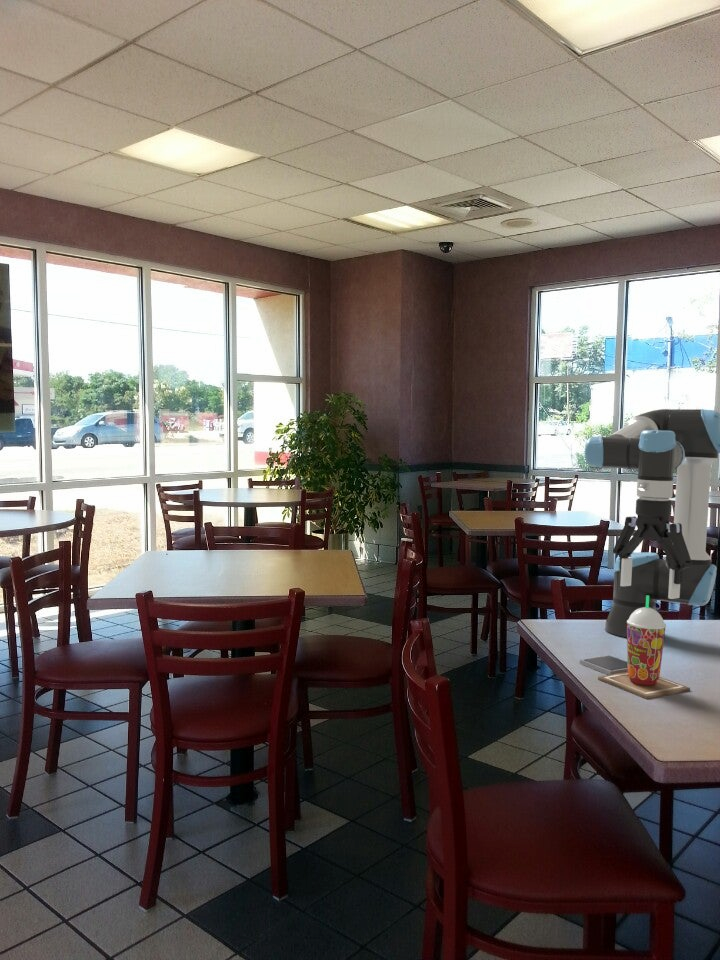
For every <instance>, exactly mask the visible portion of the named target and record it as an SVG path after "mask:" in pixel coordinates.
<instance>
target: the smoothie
mask: <svg viewBox="0 0 720 960" xmlns="http://www.w3.org/2000/svg"><path fill="white" fill-rule="evenodd" d="M666 627H667V624H666V623H665V621H664V619H663V617H662V615H661V614H660V612H658V611H657V610H654V609H652V608H649V596H648V595H646V607H642V608H639V609H637V610H635V611H634V612H633V613H632V614H631V615H630V617H629V619H628V620H627V637H626V640H627V641H626V646H627V647H626V648H627V650H626V651H627V654H626V655H627V657H626V658H627V667H628V676H629V677H630V681H631V682H633V683H635V684H638V685H643V686H652V685H655V684H656V683H657V680H659V677H661V676H660V674H661V667H662V658H663V650H664V643H665V636H666V635H665V633H666Z"/></svg>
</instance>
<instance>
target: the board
mask: <svg viewBox="0 0 720 960" xmlns="http://www.w3.org/2000/svg"><path fill="white" fill-rule="evenodd" d="M597 680H598V681H600V682H603V683H606V684H608V685H610V686H612V687H613V686H614V687H616V688H618V689H620V690H623V691H626V692H628V693H630V694H633V695H635V696H638V697H641V698H643V699H646V700H647V699H652V698H654V699H655V698H658V697H663V696H669V695H673V694H677V693H679V694H680V693H684V692H688V691H691V687H689V686H686V685H684V684H681V683H678V682H676V681H673V680H670V679H668V678H665V677H662V676H659V680H657V683H656V684H655V685H652V686H643V685H638V684H635V683H633V682H631V681H630V677H629V676H628V672H625V673H619V674H613V675H608V674H606V675H603V676H598V677H597Z"/></svg>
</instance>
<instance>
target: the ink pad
mask: <svg viewBox="0 0 720 960" xmlns="http://www.w3.org/2000/svg"><path fill="white" fill-rule="evenodd" d="M579 664H580V665H582V666H584V667H587V668H590V669H591V670H592V669H593V670H595V671H598V672H600V673H602V674H605V675H613V674H619V673H625V672H628V667H627V661H625V660H623V659H621V658H619V657H618V658H617V657H615V656H613V655H608V654H607V655H602V656H596V657H589V658H582V659H579Z"/></svg>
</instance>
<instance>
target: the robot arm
mask: <svg viewBox="0 0 720 960" xmlns="http://www.w3.org/2000/svg"><path fill="white" fill-rule="evenodd" d="M719 454H720V412H719V411H718V410H713V409H703V408H702V409H692V408H690V409H688V408H687V409H681V408H680V409H674V408H673V409H671V408H662V409H661V408H660V409H655V410H654V409H653V410H651V411H647V412H643V413H640V414H638V415H636V416H634V417H632V418H630V419H629V420H627V422H626V423H625V424H624V426H623V427H622V428H619V430H617V431H614V432H613V433H611V434H610V435H608V436H601V435H599V436H590V437H589V438H588V439H587V441H586V442H585V447H584V460H585V463H586V464H587V465H588V466H589V467H592V468H593V467H595V468H600V469H602V468H608V469H609V468H610V469H628V470H629V469H630V470H637V482H636V496H637V497H638V498H637V499H636V500H635V514H636V515H637V517H636V516H626V517H625V519H624V520H625V521H624V525H623V528H622V530H621V532H620V535H619V536H618V538H617V541H616V543H615V545H614V547H613V549H612V553H613V554H616V555H617V557H616V558H615V564H614V569H613V593H612V594H613V597H612V605H611V607H610V609H609V613H608V615H607V619H606V620H605V627H604V630H605V632H607V633H609V634H612V635H614V636H617V637H618V636H619V637H622V638H627V620H628V619H629V617H630V615H631V614H632V613H633V612H634V611H635V610H637V609H639V608H642V607H646V595H648V596H649V608H652V609H654V610H656V603H657V601H663V602H669V603H677V604H685V605H688V606H700V607H701V606H702V607H703V606H705V605H707V604H708V603H709V602H710V599H711V597H712V594H713V590H714V588H715V587H714V586H715V582H716V577H717V570H718V568H717V566H716V565H715V564H713V563H712V557H711V556H710V555H709V554H708V553H707V551H706V548H707V537H708V535H707V534H708V533H707V532H708V521H709V520H708V519H709V518H708V517H709V506H710V505H709V504H710V503H709V501H710V489H711V487H710V486H711V472H712V465H713V464H714V463H715V462H716V461H718V457H719ZM674 470H677V471H676V485H675V498H674V499H675V502H674V513H673V514H674V515H673V517H674V518H673V523H670V517H671V516H672V504H673V503H672V501H671V500H670V499H672V498H673V492H674V491H673V490H674V489H673V488H674ZM636 528H637V529H636ZM635 529H636V530H635ZM644 540H650V541H653V542H655V541H656V543H657V544H659V545H660V547H661V549H662V550H663V552H664V553H665V559H661V558H660V556H659V554H658V553H656V552H650V551H649V552H648V551H647V552H640V551H639V552H635V551H636V549H637V548H638V547H639V545H641V543H642V542H643V541H644ZM656 611H657V610H656Z"/></svg>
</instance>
